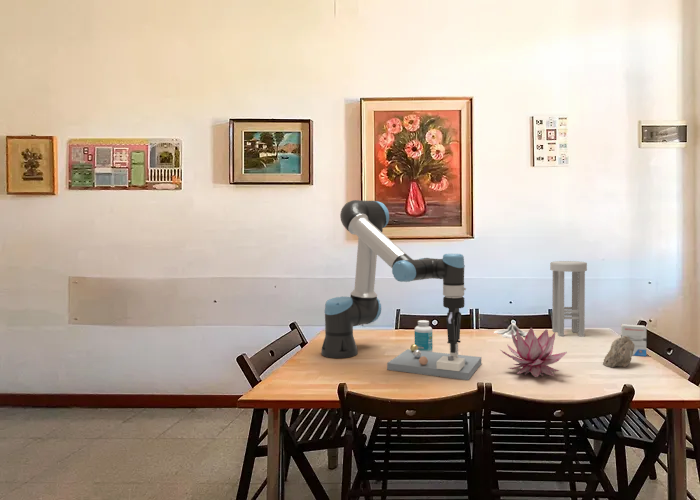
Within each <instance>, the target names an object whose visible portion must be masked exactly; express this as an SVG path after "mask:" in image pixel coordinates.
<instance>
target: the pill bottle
mask: <svg viewBox="0 0 700 500" xmlns="http://www.w3.org/2000/svg"><path fill="white" fill-rule="evenodd" d="M414 344H416V345H417V346H418V350H420V351H428V352H433V328H432V327H431V326H430V321H429V320H426V319H425V320H424V319H423V320H421V319H420V320H417V325H416V326H415V327H414Z"/></svg>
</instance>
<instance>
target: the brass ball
mask: <svg viewBox="0 0 700 500" xmlns="http://www.w3.org/2000/svg"><path fill="white" fill-rule="evenodd" d="M409 350H411V351H412V352H414V351H415V350H418V346H417V345H416V344H415V343H412V344H411V345H410V346H409Z"/></svg>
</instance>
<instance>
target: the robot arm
mask: <svg viewBox="0 0 700 500" xmlns="http://www.w3.org/2000/svg"><path fill="white" fill-rule="evenodd" d="M339 215H340V221H341V224H342V225H343V227H344V228H345V230H346V231H348V232H349V233H350V234H351V235H356V237H358V240H357V252H356V262H355V263H356V265H355V278H354V289H353V290H351V292H350V295H349V296H336V297H332V298H329V299H328V300H327V301H326V302H325V305H324V319H325V320H324V322H325V323H324V329H325V333H324V334H325V335H324V336H325V337H324V340H323V342H322V346H321V355H322V356H323V357H324V358H331V359H344V358H352V357H354V356H356V355H358V347H357V343H356V341H355V337H354V327H356V326H362V325H370V324H372V323H374V322H376V321H378V319H379V318H380V316H381V313H382V303H380V301H381V300H380V299H379V298H378V294H377V293H376V291H375V284H376V270H377V259H378V258H377V257H379V259H381V260H382V261H383V262H384V263H385V264H387V266H389V267H390V268H391V273H392V275H393V277H394V279H395V280H396V281H398V282H401V283H402V282H405V283H407V282H408V283H409V282H414V281H421V280H422V281H423V280H429V279H431V280H432V279H438V280H442V295H443V298H442V301H443V302H442V306H443V308H445V309H448V312H447V314H446V318H445V322H446V330H447V331H446V333H447V344H449V354H450V356H453V357H457V358H458V355H459V343H461V342H462V341H461V340H460V339H461V337H460V336H461V335H460V334H461V320H462V312H461V311H460V309H463V308H464V307H465V297H464V296H465V291H466V290H467V288H466V287H465V267H466V266H465V258H464V257H465V256H464V255H463V254H461V253H444V254H443V255H442V258H432V257H431V258H430V257H424V258H423V257H422V258H421V257H420V258H418V259H413V258H412V257H411V256H409V255H408V254H407V253H406V252H405V251H403V249H401V248H400V247H399V246H398V245H397V244H396V243H394V241H392V240H391V239H390V237H388V236H387V235H386V234H384V233H383V232H384V231H383V230H384V229H385V228H386V227H387V225H388V224H389V221H390V212H389V209H388V207H387V206H386V205H385V204H384V203H383V202H382V201H381V202H380V201H378V200H377V201H376V200H359V199H357V200H356V199H354V200H350V201H347V203H345V204H344V205H343V206H342V208H341V211H340V214H339Z"/></svg>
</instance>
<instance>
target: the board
mask: <svg viewBox="0 0 700 500" xmlns="http://www.w3.org/2000/svg"><path fill="white" fill-rule="evenodd" d="M421 354H422V355H421V357H422V356H425V357H426V358H427V359H428V363H427V364H426V365H421V364H420V363H419V358H415V357H414V356H413V352H412V351H411V349H410V348H407V349H405V350H404V351H403V352H401V353H400V354H398V355H397V356H395V357H394V358H393V359H391V360H389V361H388V362H387V363H386V368H387V369H386V370H387V371H393V372H402V373H403V372H404V373H409V374H415V375H416V374H418V375H425V376H433V377H439V376H440V378H449V379H455V380H457V379H458V380H462V381H464V380H465V381H470V379H471V378H472V376H474V374H475V373H476V371H477V370H478V369H479V368H480V366H481V365H482V356H473V355H465V354H464V355H463V354H458V358H465V365H464V367H463V368H462V369H461V370H460V371H452V370H444V369H437V361H438V360H439V359H440V358H441V357H442V356H450V353H446V352H436V351H432V352H428V351H421Z"/></svg>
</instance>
